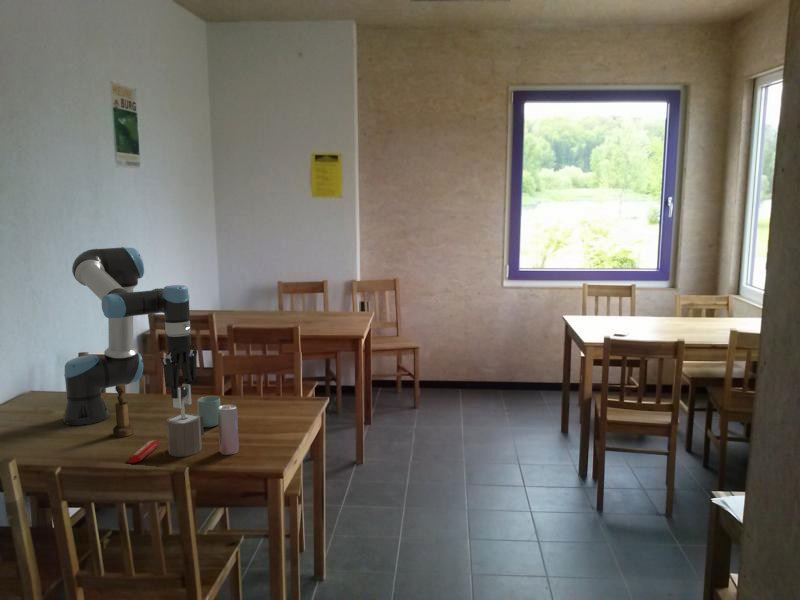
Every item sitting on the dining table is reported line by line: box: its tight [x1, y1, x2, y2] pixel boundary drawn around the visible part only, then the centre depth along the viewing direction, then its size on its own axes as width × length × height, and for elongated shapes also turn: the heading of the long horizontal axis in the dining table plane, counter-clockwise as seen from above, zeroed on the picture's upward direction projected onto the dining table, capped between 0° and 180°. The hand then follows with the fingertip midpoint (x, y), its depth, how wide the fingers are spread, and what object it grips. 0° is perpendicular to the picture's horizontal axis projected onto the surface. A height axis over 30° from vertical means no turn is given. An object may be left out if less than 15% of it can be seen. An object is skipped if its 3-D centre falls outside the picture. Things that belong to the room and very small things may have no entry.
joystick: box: [178, 386, 188, 420], centre depth 205 cm, size 7×7×19 cm
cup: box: [196, 395, 221, 428], centre depth 229 cm, size 8×8×10 cm
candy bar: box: [127, 439, 159, 464], centre depth 203 cm, size 16×4×3 cm, turn 177°
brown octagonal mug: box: [165, 413, 205, 458], centre depth 207 cm, size 10×13×11 cm
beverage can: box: [217, 403, 240, 456], centre depth 204 cm, size 6×6×15 cm
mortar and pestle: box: [112, 384, 134, 438], centre depth 221 cm, size 7×6×18 cm
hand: (182, 405), depth 204 cm, fingers open, 4 cm apart
